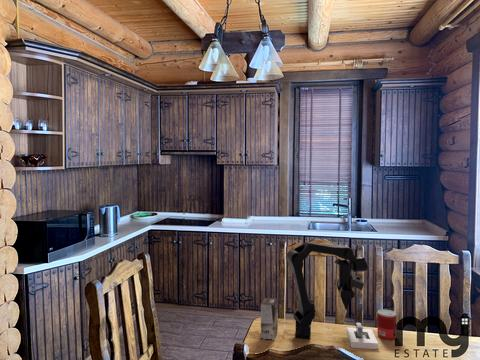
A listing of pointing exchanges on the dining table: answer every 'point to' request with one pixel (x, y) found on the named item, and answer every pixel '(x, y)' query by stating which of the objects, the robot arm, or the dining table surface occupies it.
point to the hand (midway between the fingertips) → (345, 305)
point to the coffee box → (269, 318)
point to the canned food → (386, 324)
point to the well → (362, 343)
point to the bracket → (359, 331)
